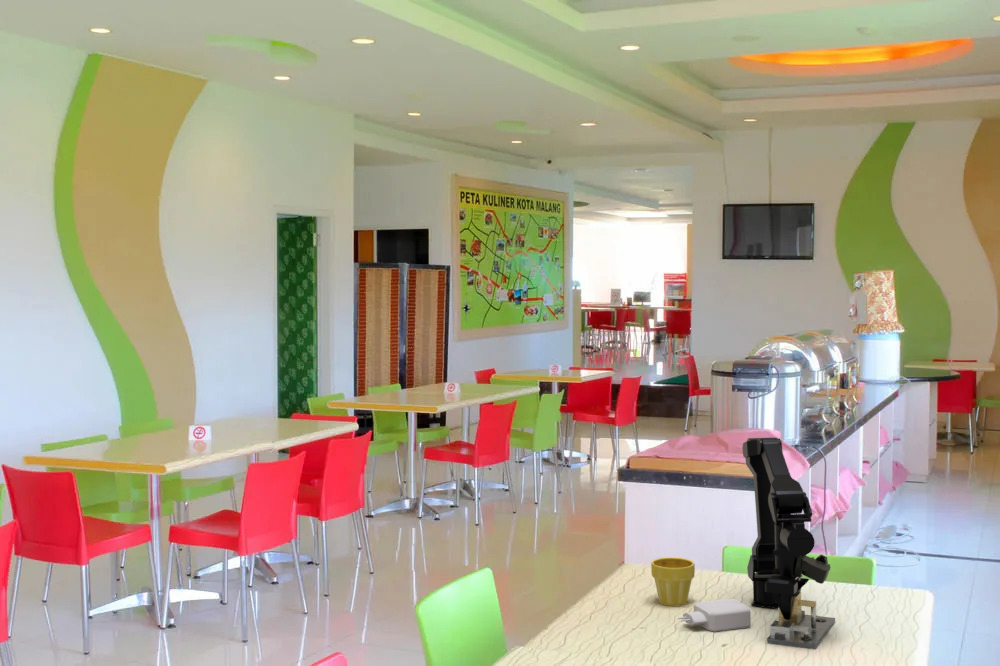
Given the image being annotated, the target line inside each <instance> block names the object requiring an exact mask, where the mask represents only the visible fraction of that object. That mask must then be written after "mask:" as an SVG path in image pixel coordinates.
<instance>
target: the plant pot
mask: <svg viewBox="0 0 1000 666" xmlns="http://www.w3.org/2000/svg"><path fill="white" fill-rule="evenodd" d="M650 565H651V567H650V568H651V576H652V578H654V583H655V588H656V592H657V597H658V601H659V603H660V604H661V605H663V606H667V607H680V606H684V605H686V604H688V600H689V596H690V595H689V594H690V589H691V584H692V580H693V579H694V577H695V574H696V573H695V572H696V571H695V570H696V568H695V565H696V564H695V562H694V561H693V560H690V559H688V558H682V557H675V556H674V557H672V556H671V557H670V556H668V557H660V558H656V559H653V560H651V564H650Z"/></svg>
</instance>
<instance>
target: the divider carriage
mask: <svg viewBox="0 0 1000 666" xmlns="http://www.w3.org/2000/svg"><path fill="white" fill-rule="evenodd" d="M802 607H806V608H807V607H809V608H810V615H811V628H812V629H816V616H817V611H816V610H817V608H816V607H817V601H816V600H807V599H802V592H801V591H800V592H798V593H797V594H796V595H794V596H793V601H792V608H791V615H790V619H789V620H786V619H784V617H783V615H782V613H781V611H780V609H779V607H778V621H784V622H792V623H794V624H798V623H799V622H800V621H801V619H802V614H801V610H802Z"/></svg>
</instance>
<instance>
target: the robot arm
mask: <svg viewBox="0 0 1000 666" xmlns="http://www.w3.org/2000/svg"><path fill="white" fill-rule="evenodd" d="M741 451H742V455H743V458H745V465H746V467H747V468H748V469H749V471H750V472H751V474H752V476H753V486H754V500H755V501H754V502H755V515H756V518H755V519H756V530H757V531H756V533H757V537H756V539H755V542H754V543H753V545H752V546H751V555H750V557H749V560H748V564H747V568H746V569H747V576H748V578H749V579H750V580H751V581H752V587H753V588H752V589H753V590H752V591H753V592H752V593H753V601H752V603H751V604H750V605H751V606H752V607H761V608H769V609H770V608H771V609H778V607H779V609H780V611H781V613H782V615H783V617H784V619H786V620H789V619H790V615H791V608H792V601H793V596H794V595H796V594H797V593H798V592H801V591H802V588H803V587H804V586H805V585H806V584H807V583H808V582H809V581H810V579H811V580H813V581H815V582H816V583H817V584H824V583H825V581H827V578H828V575H829V572H830V571H831V567H832V566H831V564H829V563H828V562H829V561H828V557H827V556H825V555H824V554H819V555H818V556H817V557H816V558H815V557H813V556H812V557H810V556H808V555H809V554H810V553H811V552H812V551H813V549H814V547H815V543H816V542H815V538H814V535H813V534H812V533H811V531H809V530H808V529H806V528H805V527H806V525H805V523H807V522H808V523H810V522H812V516H813V512H812V507H811V504H810V500H809V497H808V496H807V493H806V492H805V491H804V490H803V488H802V485H801V483H800V482H799V481H797V480H796V479H794V478H793V477H792V475H791V473H790V470H789V468H788V467H789V466H788V465H787V461H786V458H785V455H784V453H783V441H782V440H781V438H778V437H775V436H774V437H748V438H747V439H746V441H745V442H743V443H742V450H741ZM803 576H804V578H803ZM805 577H807V578H805Z"/></svg>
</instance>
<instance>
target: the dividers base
mask: <svg viewBox="0 0 1000 666" xmlns="http://www.w3.org/2000/svg"><path fill="white" fill-rule="evenodd" d="M801 614H802V619H801V621H800V622H799V623H798V624H794V623H792V622H784V621H779V620H776V619H775V620H774V621H773V622H772V623H771V624H770V629H769V630H770V635H769V636H768V637H767V638H766V644H771V645H778V646H779V645H780V646H786V647H792V648H793V647H795V648H803V649H809V650H816V649H818V646H819V645H820V644H821V643H822V641H823V639H824V638H825V637H826V635H827V634H828V633H829V632H830V630H831V629H832V627H833V626H834V625H835V624H836V617H831V616H821V615H820V616H819V615H816V629H812V628H811V614H806V611H805V610H802V609H801Z"/></svg>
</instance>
